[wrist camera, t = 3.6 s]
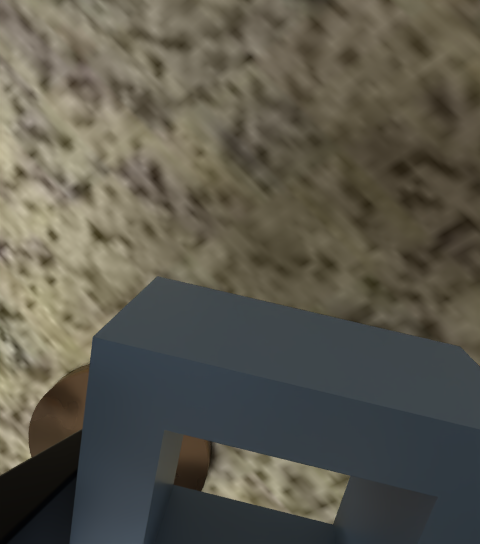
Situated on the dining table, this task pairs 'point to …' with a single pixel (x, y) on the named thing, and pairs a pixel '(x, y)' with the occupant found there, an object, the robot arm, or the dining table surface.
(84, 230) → the dining table surface
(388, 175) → the dining table surface
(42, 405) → the post
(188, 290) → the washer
